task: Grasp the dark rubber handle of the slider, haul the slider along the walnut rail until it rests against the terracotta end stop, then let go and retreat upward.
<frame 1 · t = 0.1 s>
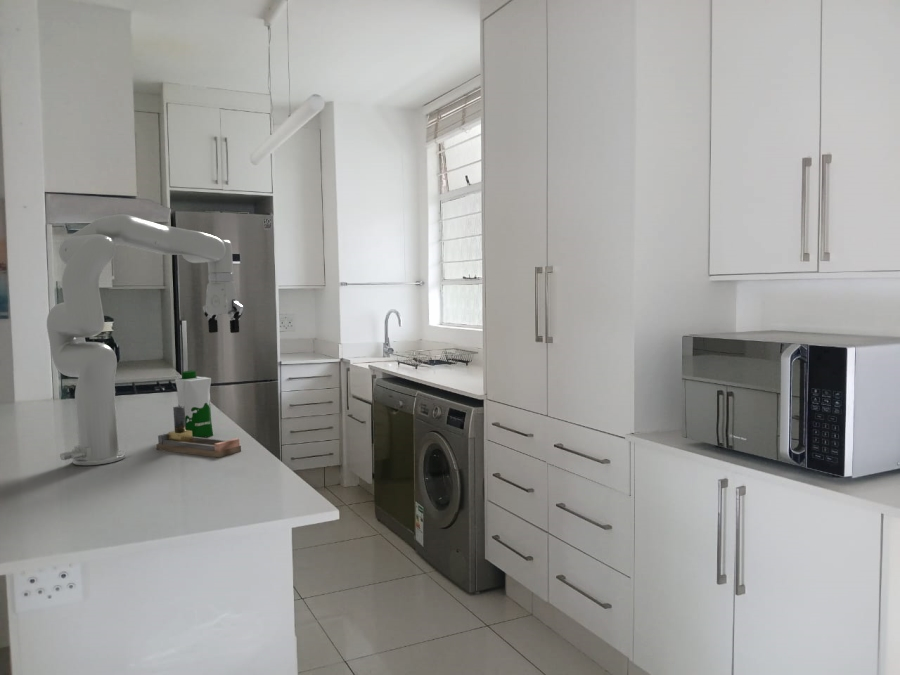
hand: (224, 332, 222), 31 cm above the countertop, tool pointing down, fingers open, 9 cm apart
slider: (179, 424, 197), point 7 cm above the countertop, slide at 0.0 cm
milk carton: (196, 437, 213), on the countertop
rail base: (198, 450, 194), on the countertop
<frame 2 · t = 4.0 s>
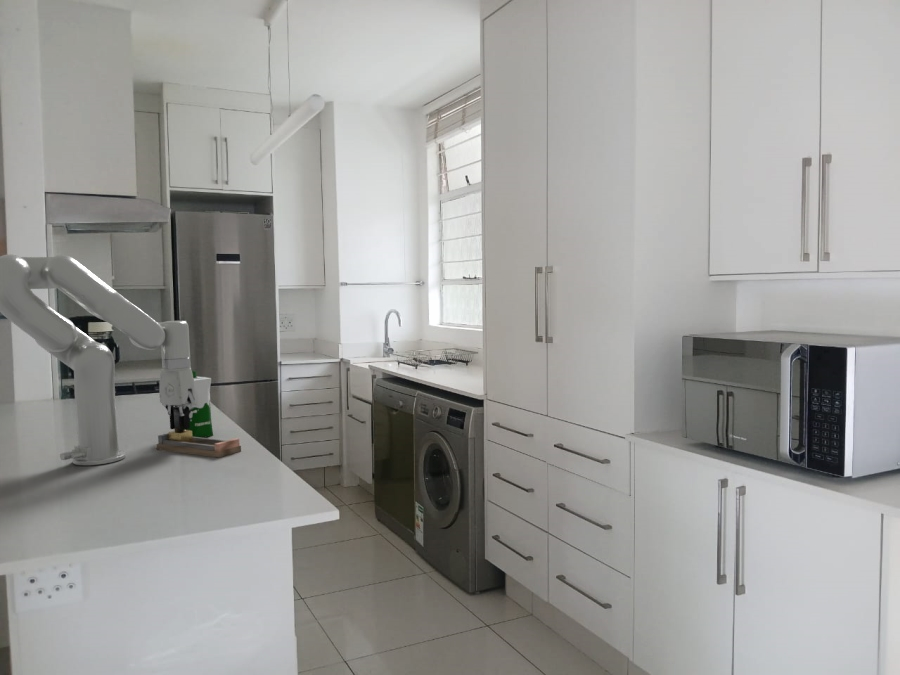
hand: (180, 428, 197), 6 cm above the countertop, tool pointing down, fingers closed on slider, 3 cm apart
slider: (179, 424, 197), point 7 cm above the countertop, slide at 0.0 cm, touching gripper
everything else where it was.
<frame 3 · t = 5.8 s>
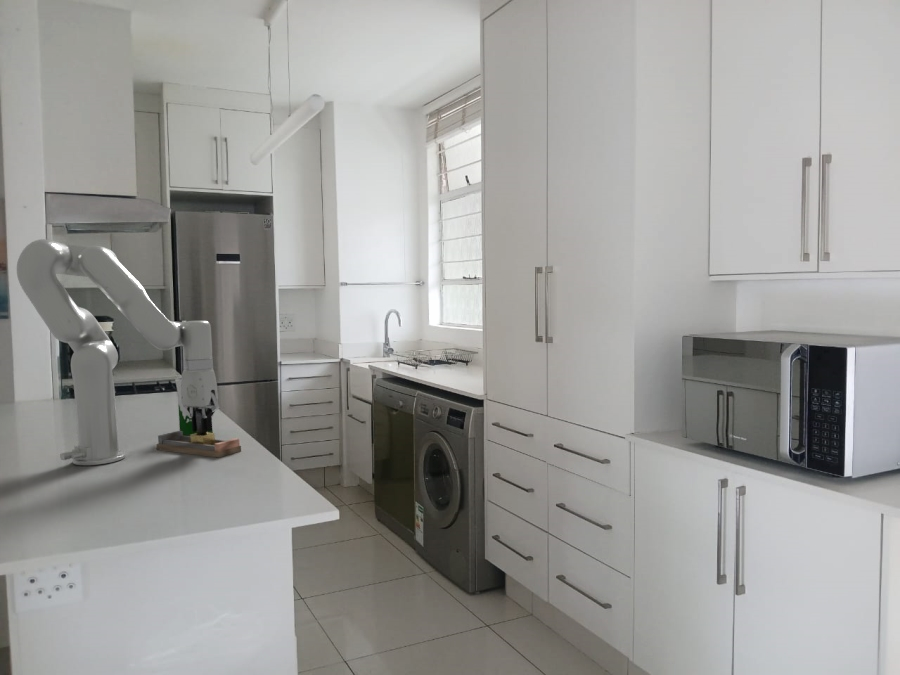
hand: (202, 430, 192), 6 cm above the countertop, tool pointing down, fingers closed on slider, 3 cm apart
slider: (202, 426, 192), point 7 cm above the countertop, slide at 9.1 cm, touching gripper
everything else where it was.
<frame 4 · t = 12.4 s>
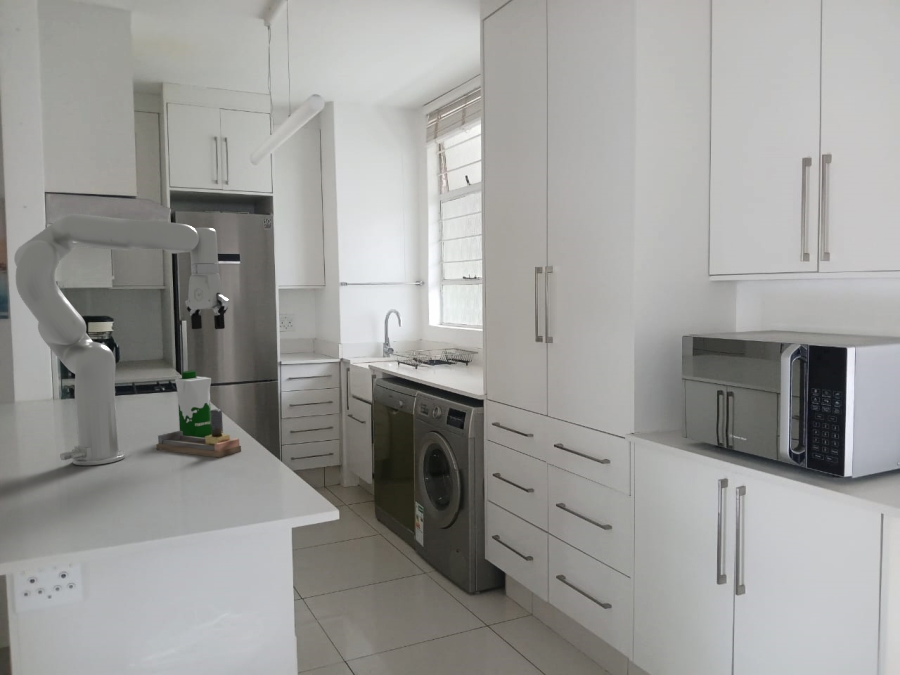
hand: (208, 328, 204), 33 cm above the countertop, tool pointing down, fingers open, 9 cm apart
slider: (217, 428, 189), point 7 cm above the countertop, slide at 15.0 cm
everything else where it was.
at the end: slider slide at 15.0 cm; the gripper is holding nothing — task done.
